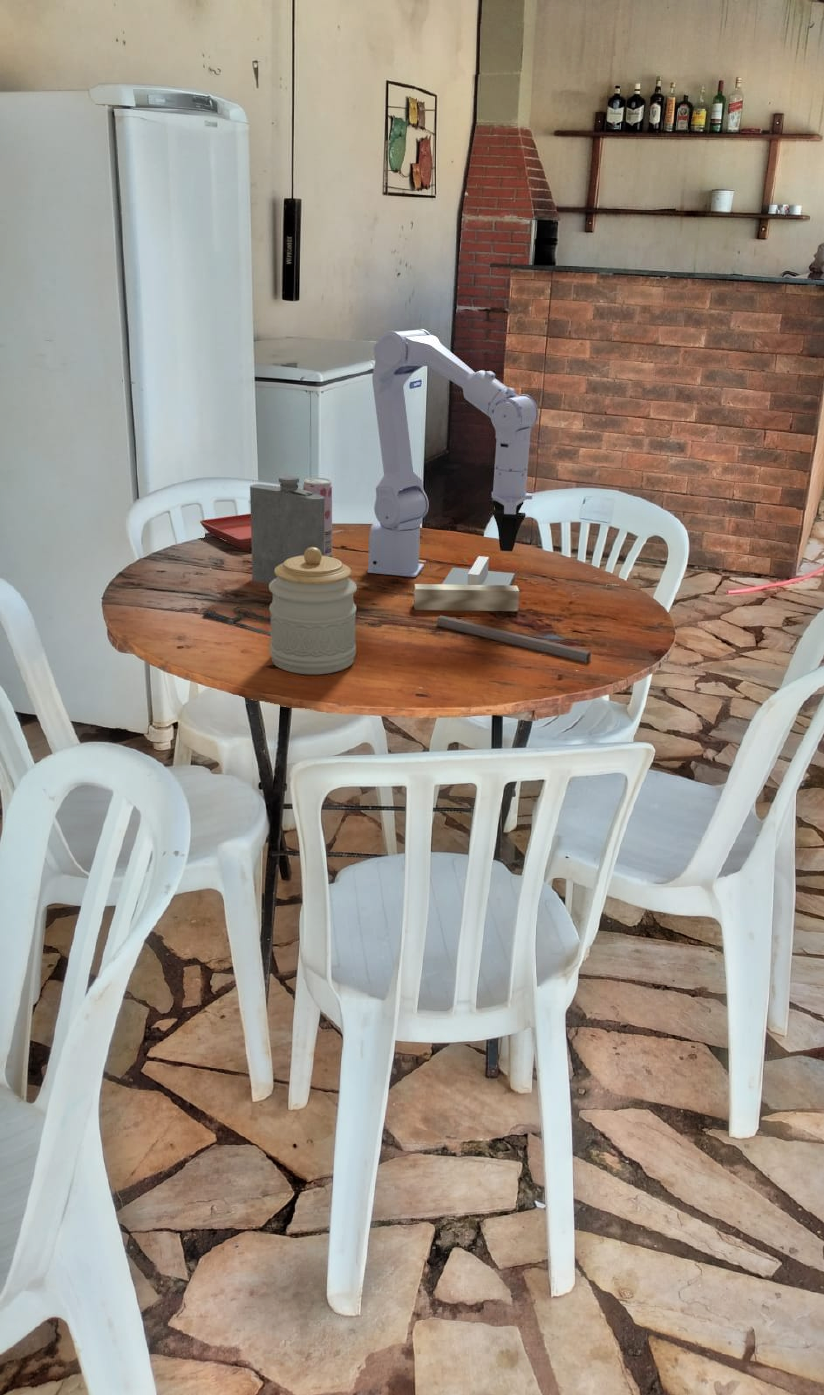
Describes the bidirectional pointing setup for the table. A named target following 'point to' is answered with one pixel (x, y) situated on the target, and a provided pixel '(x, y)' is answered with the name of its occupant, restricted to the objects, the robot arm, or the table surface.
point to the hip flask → (283, 525)
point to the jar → (312, 615)
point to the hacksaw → (238, 619)
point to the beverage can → (324, 489)
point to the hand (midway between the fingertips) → (505, 544)
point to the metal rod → (514, 639)
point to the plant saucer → (231, 529)
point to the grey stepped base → (478, 575)
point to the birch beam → (466, 597)
